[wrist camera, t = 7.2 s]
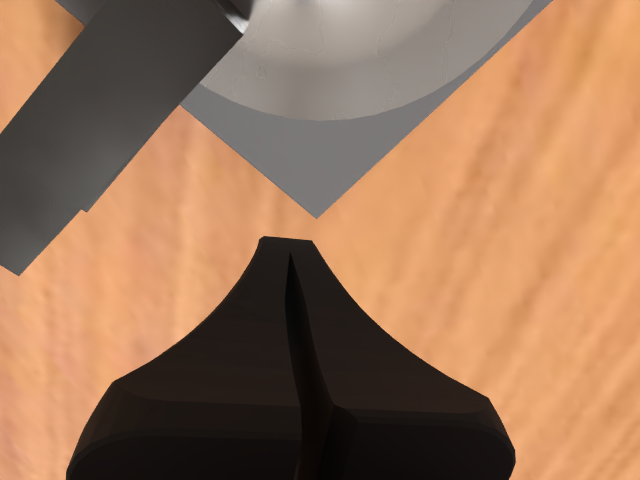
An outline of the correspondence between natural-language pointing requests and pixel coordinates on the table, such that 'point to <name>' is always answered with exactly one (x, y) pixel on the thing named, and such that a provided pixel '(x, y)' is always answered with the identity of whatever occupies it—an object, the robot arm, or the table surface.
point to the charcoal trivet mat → (313, 130)
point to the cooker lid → (219, 84)
